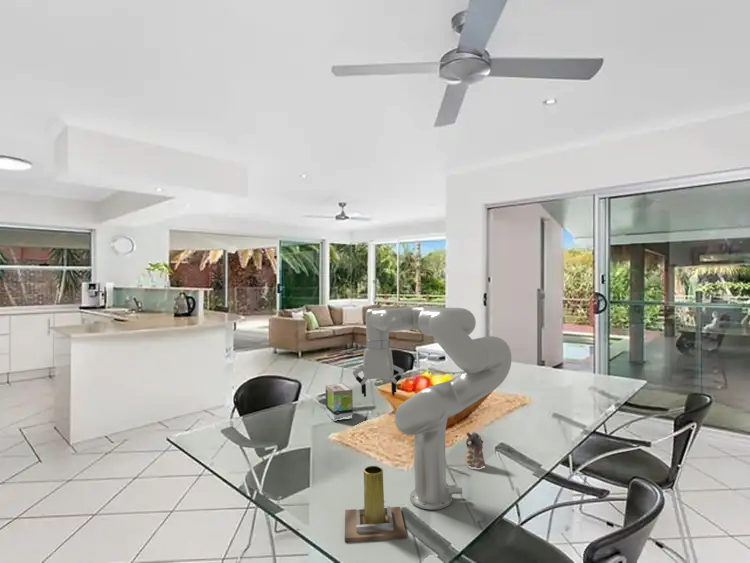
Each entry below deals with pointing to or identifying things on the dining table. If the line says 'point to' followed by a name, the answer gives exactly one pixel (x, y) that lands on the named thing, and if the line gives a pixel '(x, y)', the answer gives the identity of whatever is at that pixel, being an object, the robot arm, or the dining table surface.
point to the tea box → (339, 401)
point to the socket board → (374, 526)
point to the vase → (373, 495)
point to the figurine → (474, 451)
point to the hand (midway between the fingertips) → (379, 395)
